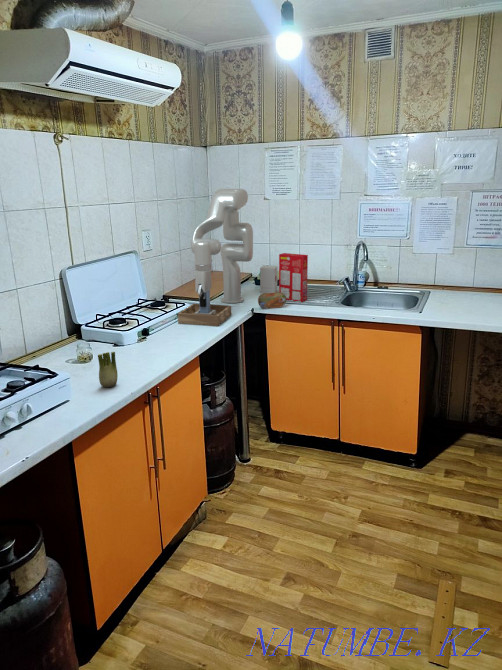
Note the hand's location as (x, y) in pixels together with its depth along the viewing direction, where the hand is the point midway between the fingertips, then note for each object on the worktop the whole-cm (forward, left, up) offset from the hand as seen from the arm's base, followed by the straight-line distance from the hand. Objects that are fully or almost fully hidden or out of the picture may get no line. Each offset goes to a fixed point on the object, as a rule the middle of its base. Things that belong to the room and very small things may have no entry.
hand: (204, 305), depth 249 cm
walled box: (0, 0, -7) cm, 7 cm away
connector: (0, 0, -4) cm, 4 cm away
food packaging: (-49, +33, -7) cm, 60 cm away
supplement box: (-66, +15, -7) cm, 68 cm away
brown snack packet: (-29, +26, -7) cm, 40 cm away
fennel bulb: (+85, -2, -7) cm, 85 cm away
